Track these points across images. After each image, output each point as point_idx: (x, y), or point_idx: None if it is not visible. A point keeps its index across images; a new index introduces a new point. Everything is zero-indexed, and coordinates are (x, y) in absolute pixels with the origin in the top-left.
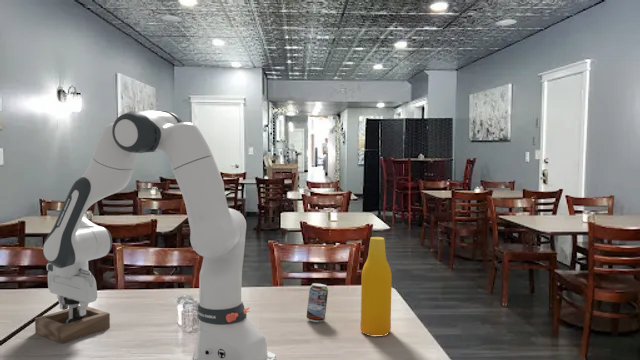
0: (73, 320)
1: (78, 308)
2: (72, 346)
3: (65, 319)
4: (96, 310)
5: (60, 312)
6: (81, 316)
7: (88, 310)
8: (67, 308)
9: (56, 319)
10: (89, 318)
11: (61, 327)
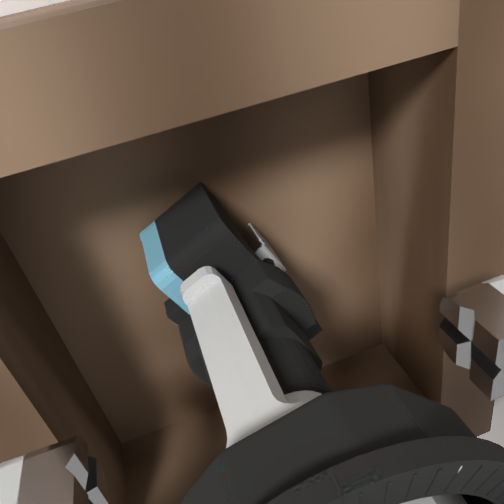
0: (317, 326)
1: (249, 333)
2: None
3: (44, 340)
4: (264, 18)
5: (20, 453)
6: (232, 233)
7: (156, 131)
8: (76, 436)
9: (86, 432)
10: (496, 215)
11: (479, 430)
